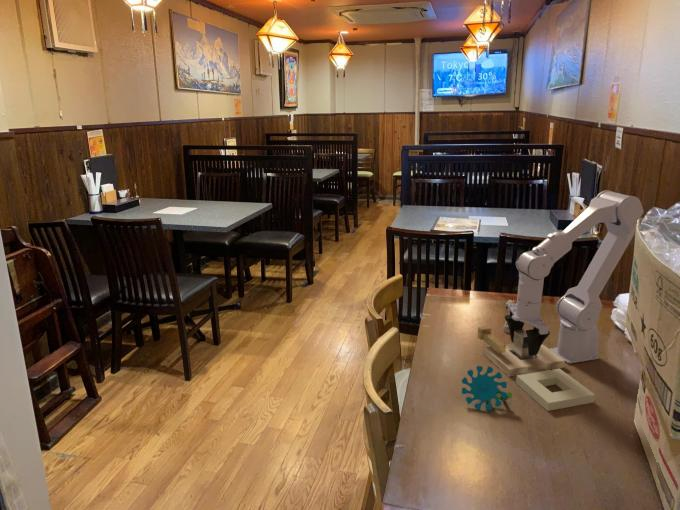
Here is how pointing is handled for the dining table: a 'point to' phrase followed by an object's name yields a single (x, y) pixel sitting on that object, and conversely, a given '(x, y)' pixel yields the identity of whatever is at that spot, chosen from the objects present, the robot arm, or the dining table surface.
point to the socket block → (524, 361)
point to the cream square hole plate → (556, 400)
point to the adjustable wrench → (509, 302)
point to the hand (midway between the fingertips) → (523, 348)
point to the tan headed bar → (491, 339)
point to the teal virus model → (485, 388)
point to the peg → (521, 345)
